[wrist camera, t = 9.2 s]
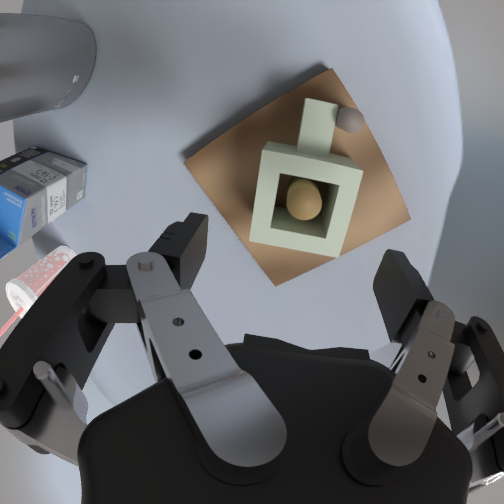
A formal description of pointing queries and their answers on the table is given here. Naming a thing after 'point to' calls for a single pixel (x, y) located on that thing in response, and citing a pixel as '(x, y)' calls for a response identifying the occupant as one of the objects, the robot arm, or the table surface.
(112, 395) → the table surface
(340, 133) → the locating plate
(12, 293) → the beverage cup
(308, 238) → the square ring with handle
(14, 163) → the label tape box
